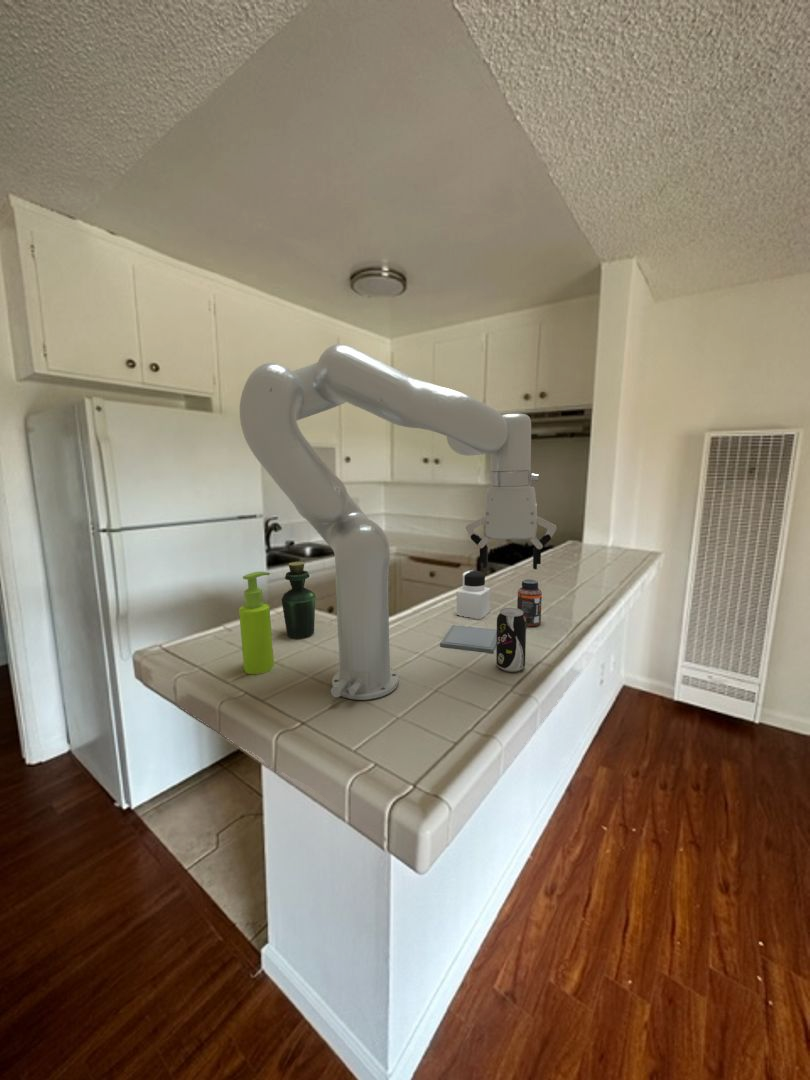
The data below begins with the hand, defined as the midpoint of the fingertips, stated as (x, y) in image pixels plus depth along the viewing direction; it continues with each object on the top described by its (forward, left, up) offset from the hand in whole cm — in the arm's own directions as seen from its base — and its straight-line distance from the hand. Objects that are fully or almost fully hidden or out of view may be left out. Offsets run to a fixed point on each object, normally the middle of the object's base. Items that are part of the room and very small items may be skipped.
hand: (509, 567), depth 87 cm
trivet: (+10, +10, -21) cm, 25 cm away
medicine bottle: (+28, +13, -21) cm, 37 cm away
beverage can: (-2, -1, -21) cm, 21 cm away
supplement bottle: (+25, -2, -21) cm, 33 cm away
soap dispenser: (-17, +49, -21) cm, 55 cm away
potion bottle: (+1, +51, -21) cm, 55 cm away
